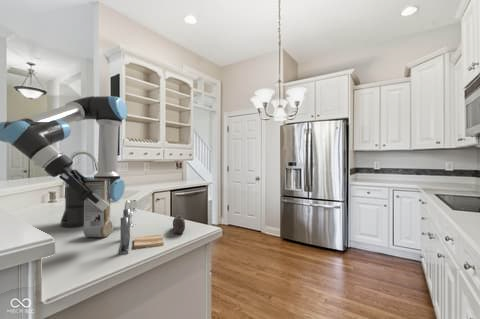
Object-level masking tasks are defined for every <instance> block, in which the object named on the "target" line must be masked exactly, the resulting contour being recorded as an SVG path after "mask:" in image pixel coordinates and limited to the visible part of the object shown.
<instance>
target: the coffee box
mask: <svg viewBox="0 0 480 319" xmlns="http://www.w3.org/2000/svg"><path fill="white" fill-rule="evenodd" d="M93 178H94V177H93ZM84 185H85V186H87V187H88V188H89V189H90V190H91V191H92V192H93V193H96V194H97V195H98V196H99V197H100V198H102V199H103V200H104V201H105V202H106V203H108V204H109V206H108V207H107V208H106V209H105V210H104V211H102V210H100V209H99V208H98V207H97V206H95V205H94V204H93V203H92V202H90V201H89V200H88V199H85V200H84V226H83V229H84V228H98V227H105V226H106V225H107V223H108V222H109V221H111V203H110V179H104V178H94V179H89V180H85V181H84ZM93 193H92V194H93Z"/></svg>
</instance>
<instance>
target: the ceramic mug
mask: <svg viewBox="0 0 480 319" xmlns="http://www.w3.org/2000/svg"><path fill="white" fill-rule="evenodd" d="M113 231H114V228H113V222H112V221H111V220H110V221H109V222H108V223H107V225H106V226H105V227H98V228H84V227H83V234H84V236H85V237H87V238H106V237H108V236H109V235H110V234H111V233H113Z"/></svg>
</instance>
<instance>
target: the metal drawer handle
mask: <svg viewBox="0 0 480 319" xmlns="http://www.w3.org/2000/svg"><path fill="white" fill-rule="evenodd" d="M122 216H123V217H120V239H119V240H120V241H119V243H120V246H119V247H120V248H119V249H120V252H119V255H120V256H122V255H128V254H129V251H130V250H129V249H130V242H131V241H130V240H131V235H130V234H131V227H130V222H131V219H130V209H125V208H124V209H123V213H122Z"/></svg>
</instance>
